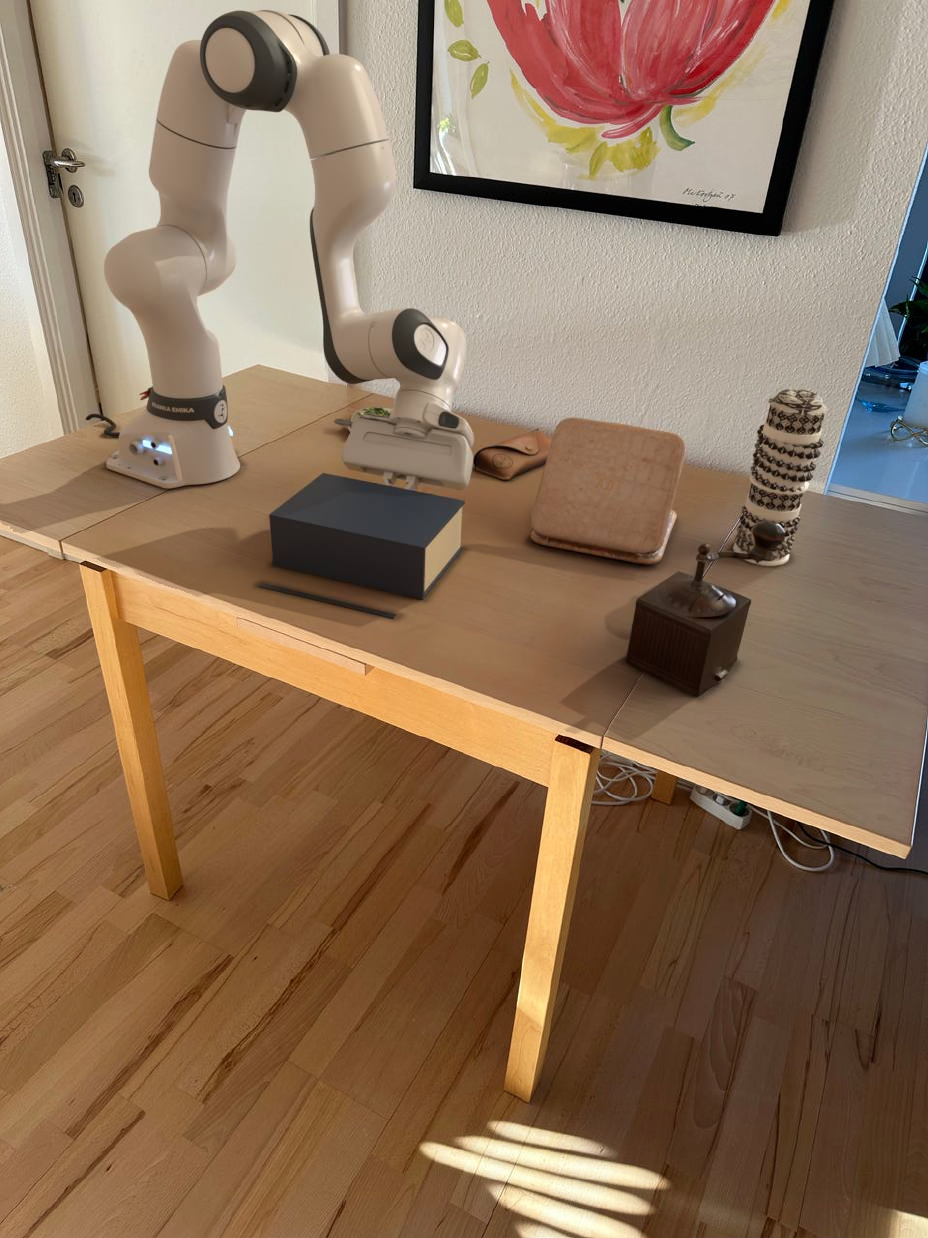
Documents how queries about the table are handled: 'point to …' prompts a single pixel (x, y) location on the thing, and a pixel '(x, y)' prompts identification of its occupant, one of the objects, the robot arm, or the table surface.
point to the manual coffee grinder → (695, 621)
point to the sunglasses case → (513, 455)
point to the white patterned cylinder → (782, 468)
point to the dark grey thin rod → (328, 600)
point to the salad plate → (361, 412)
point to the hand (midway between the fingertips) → (393, 504)
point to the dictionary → (367, 534)
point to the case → (608, 490)
